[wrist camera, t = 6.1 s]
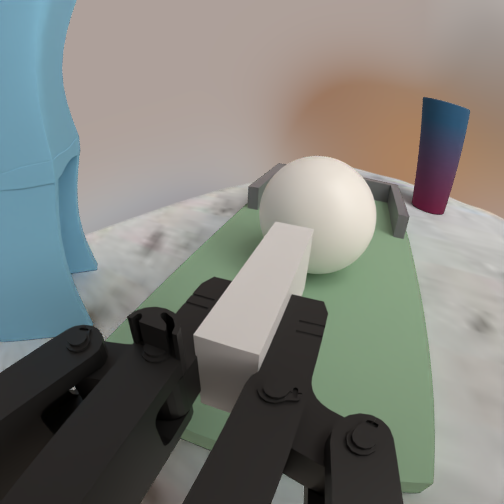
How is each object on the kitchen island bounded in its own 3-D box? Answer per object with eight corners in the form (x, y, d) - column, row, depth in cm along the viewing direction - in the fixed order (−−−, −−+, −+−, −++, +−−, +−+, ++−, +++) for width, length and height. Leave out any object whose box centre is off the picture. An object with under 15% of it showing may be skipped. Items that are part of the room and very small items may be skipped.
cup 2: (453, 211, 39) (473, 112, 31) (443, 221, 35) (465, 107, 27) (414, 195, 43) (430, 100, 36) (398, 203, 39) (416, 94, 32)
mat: (419, 493, 8) (433, 483, 8) (83, 387, 13) (75, 372, 12) (395, 209, 37) (397, 200, 36) (275, 186, 41) (275, 177, 40)
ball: (383, 286, 20) (411, 177, 16) (280, 307, 17) (295, 175, 14) (329, 236, 26) (342, 147, 22) (242, 245, 24) (246, 144, 20)
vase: (12, 276, 20) (-18, 25, 10) (97, 263, 22) (82, -2, 13) (-14, 343, 13) (-73, 8, 4) (92, 332, 16) (61, -45, 6)
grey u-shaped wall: (403, 239, 26) (409, 216, 25) (247, 208, 30) (248, 186, 29) (394, 201, 35) (397, 184, 34) (277, 179, 39) (278, 163, 38)
